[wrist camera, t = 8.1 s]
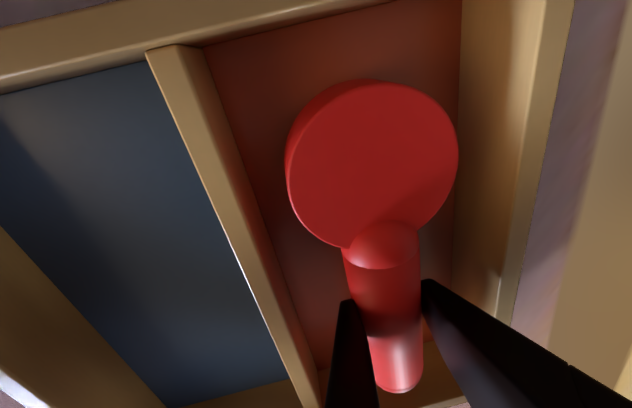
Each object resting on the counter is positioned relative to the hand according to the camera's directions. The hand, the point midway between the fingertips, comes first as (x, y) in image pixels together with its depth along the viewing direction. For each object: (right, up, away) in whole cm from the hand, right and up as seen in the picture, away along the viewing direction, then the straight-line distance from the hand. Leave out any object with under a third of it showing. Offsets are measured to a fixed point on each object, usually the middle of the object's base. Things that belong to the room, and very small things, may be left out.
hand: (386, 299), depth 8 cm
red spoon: (0, +1, 0) cm, 1 cm away
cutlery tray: (-4, +1, +2) cm, 4 cm away
